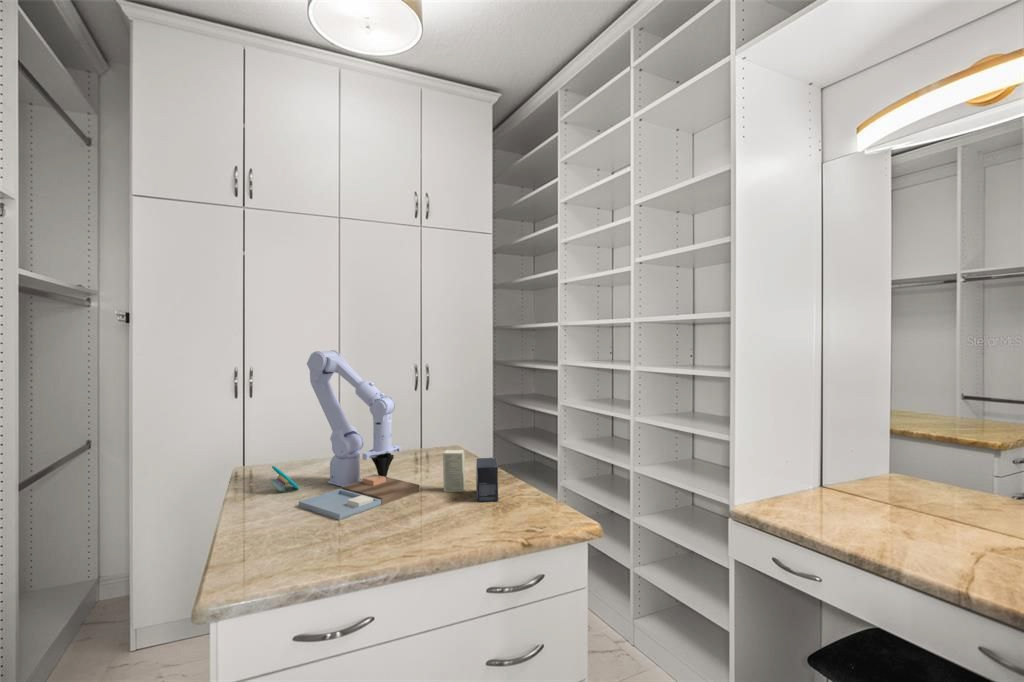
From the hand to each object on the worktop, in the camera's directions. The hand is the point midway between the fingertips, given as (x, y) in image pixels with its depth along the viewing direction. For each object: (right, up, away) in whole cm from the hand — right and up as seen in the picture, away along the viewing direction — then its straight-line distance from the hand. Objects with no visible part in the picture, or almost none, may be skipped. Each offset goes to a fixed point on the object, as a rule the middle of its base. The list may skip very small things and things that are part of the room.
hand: (382, 477), depth 161 cm
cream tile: (-1, -2, -19) cm, 19 cm away
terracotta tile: (-2, -1, -3) cm, 4 cm away
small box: (+34, -3, -10) cm, 35 cm away
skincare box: (+23, -3, -4) cm, 24 cm away
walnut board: (+1, -3, -6) cm, 7 cm away
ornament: (-29, -3, -5) cm, 30 cm away
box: (-7, -3, -19) cm, 20 cm away
